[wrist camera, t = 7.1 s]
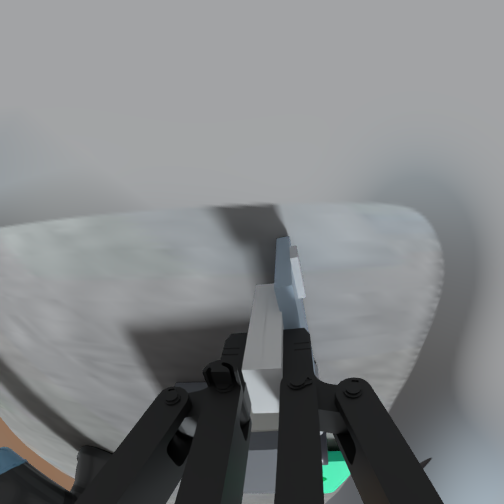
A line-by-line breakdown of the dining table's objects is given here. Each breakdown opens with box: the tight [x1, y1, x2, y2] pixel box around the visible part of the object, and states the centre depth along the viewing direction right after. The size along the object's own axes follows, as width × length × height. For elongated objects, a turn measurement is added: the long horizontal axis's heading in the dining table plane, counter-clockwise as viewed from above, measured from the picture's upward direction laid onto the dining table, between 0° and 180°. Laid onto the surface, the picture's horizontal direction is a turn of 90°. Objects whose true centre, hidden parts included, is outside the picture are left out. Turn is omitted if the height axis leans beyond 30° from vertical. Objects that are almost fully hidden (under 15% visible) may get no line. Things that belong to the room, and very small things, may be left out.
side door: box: [274, 236, 323, 435], centre depth 18 cm, size 1×12×7 cm, turn 14°
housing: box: [175, 382, 328, 493], centre depth 22 cm, size 10×13×8 cm
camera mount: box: [322, 451, 351, 493], centre depth 25 cm, size 12×8×10 cm, turn 175°
